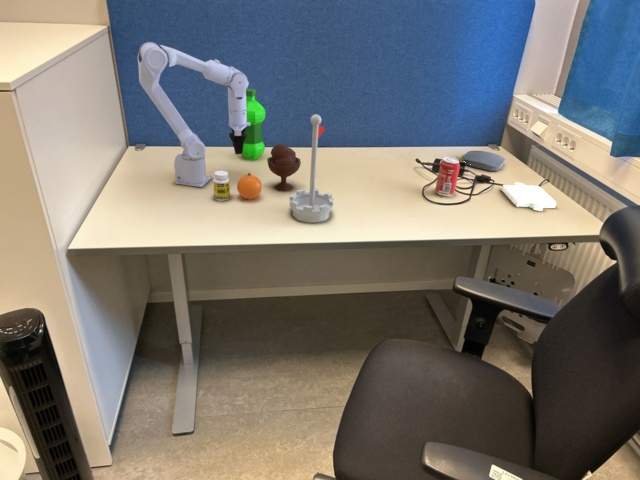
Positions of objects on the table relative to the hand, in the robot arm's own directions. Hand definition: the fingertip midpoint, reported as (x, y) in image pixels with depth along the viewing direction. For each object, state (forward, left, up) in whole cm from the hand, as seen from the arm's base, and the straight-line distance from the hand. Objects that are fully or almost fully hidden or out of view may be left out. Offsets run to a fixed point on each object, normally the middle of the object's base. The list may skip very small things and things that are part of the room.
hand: (238, 149), depth 158 cm
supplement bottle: (+1, -18, -10) cm, 21 cm away
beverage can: (+70, +9, -10) cm, 71 cm away
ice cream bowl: (+17, -4, -10) cm, 20 cm away
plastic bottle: (-2, +19, -10) cm, 21 cm away
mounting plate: (+98, +14, -10) cm, 99 cm away
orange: (+9, -15, -9) cm, 20 cm away
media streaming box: (+86, +44, -10) cm, 97 cm away
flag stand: (+30, -20, -10) cm, 37 cm away
